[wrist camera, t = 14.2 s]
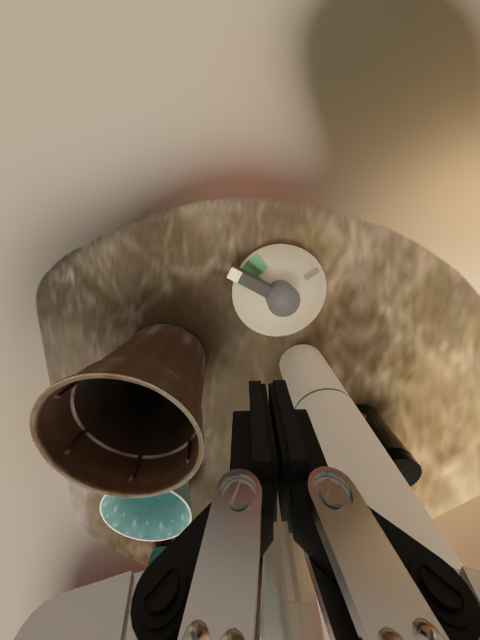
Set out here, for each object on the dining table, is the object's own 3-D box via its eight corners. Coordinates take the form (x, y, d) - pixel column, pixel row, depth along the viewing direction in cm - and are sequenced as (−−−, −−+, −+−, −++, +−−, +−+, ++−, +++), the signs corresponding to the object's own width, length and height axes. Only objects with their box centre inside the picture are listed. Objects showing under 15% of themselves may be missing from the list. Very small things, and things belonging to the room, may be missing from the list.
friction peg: (299, 288, 30) (306, 295, 27) (283, 313, 31) (288, 322, 28) (237, 254, 28) (237, 256, 25) (223, 281, 30) (221, 287, 26)
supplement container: (362, 396, 39) (403, 451, 29) (385, 416, 40) (431, 474, 30) (332, 419, 40) (361, 477, 31) (356, 437, 42) (390, 498, 32)
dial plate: (333, 249, 30) (338, 250, 28) (310, 336, 34) (314, 341, 33) (237, 237, 29) (237, 238, 28) (228, 327, 34) (227, 331, 32)
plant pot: (232, 384, 38) (226, 483, 23) (147, 407, 40) (90, 512, 25) (197, 297, 32) (158, 351, 17) (100, 328, 34) (-11, 401, 19)
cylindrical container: (286, 386, 38) (358, 630, 15) (273, 352, 36) (334, 578, 12) (327, 374, 37) (475, 613, 14) (316, 338, 35) (473, 553, 11)
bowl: (132, 430, 42) (107, 474, 34) (210, 453, 44) (203, 499, 36) (116, 481, 47) (92, 529, 39) (187, 499, 49) (177, 549, 41)
